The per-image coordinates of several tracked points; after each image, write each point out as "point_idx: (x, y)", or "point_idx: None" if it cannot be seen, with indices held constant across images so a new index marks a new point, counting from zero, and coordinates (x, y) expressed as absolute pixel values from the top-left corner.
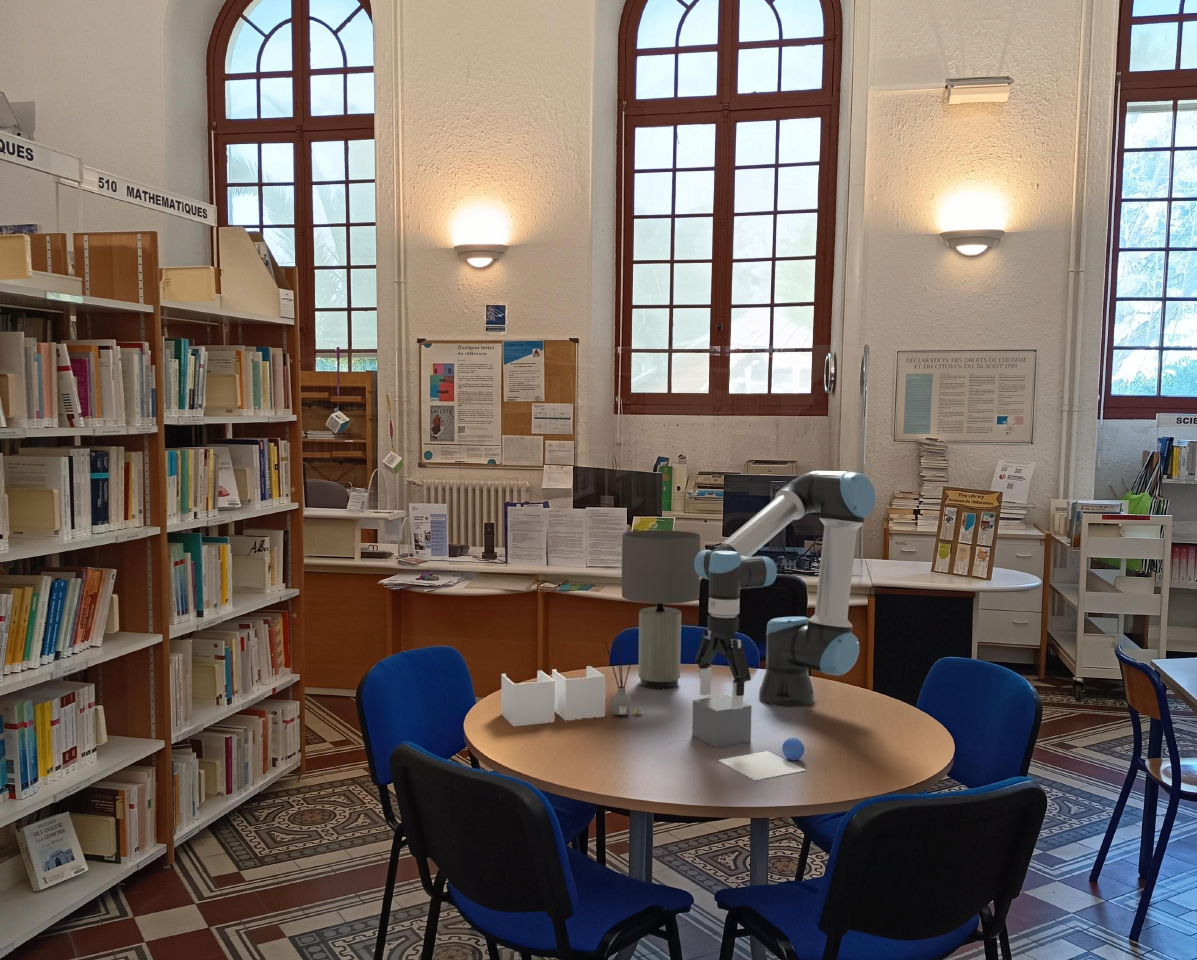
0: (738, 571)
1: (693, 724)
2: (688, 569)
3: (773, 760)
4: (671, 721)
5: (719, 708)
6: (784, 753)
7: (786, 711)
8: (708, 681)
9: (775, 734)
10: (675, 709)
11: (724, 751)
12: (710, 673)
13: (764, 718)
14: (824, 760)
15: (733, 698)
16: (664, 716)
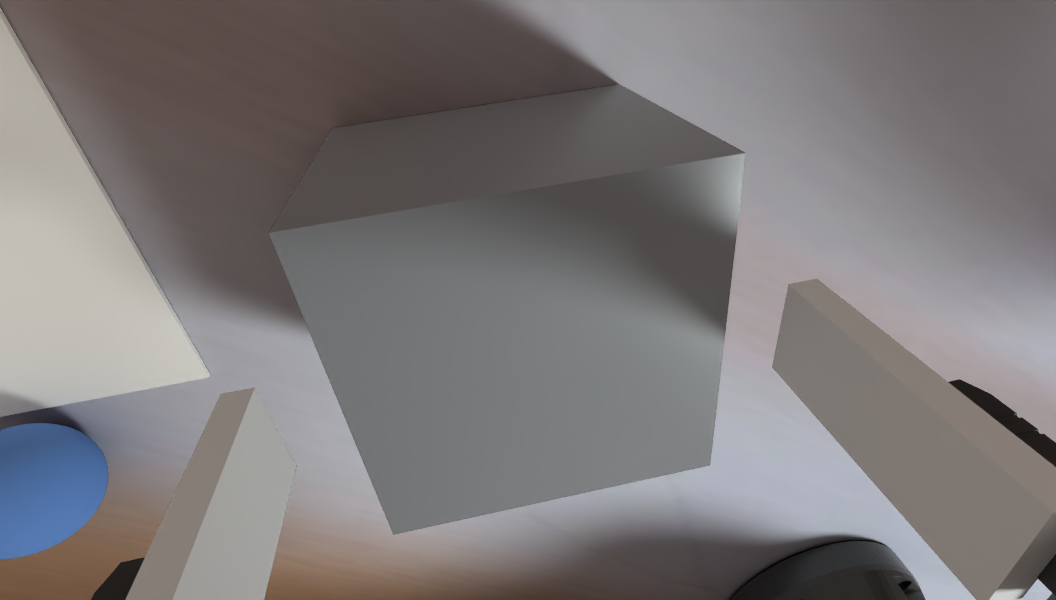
0: None
1: (633, 101)
2: None
3: (18, 352)
4: (909, 75)
5: (362, 295)
6: (5, 430)
7: (705, 572)
8: (862, 438)
9: None
10: (1036, 197)
11: (239, 149)
12: (926, 535)
13: (677, 498)
14: (63, 543)
15: (186, 487)
16: (1006, 75)
